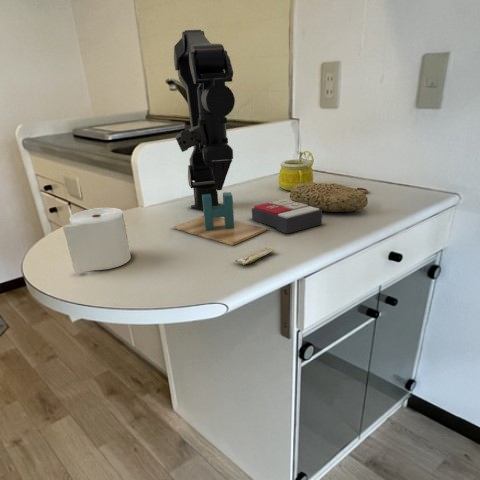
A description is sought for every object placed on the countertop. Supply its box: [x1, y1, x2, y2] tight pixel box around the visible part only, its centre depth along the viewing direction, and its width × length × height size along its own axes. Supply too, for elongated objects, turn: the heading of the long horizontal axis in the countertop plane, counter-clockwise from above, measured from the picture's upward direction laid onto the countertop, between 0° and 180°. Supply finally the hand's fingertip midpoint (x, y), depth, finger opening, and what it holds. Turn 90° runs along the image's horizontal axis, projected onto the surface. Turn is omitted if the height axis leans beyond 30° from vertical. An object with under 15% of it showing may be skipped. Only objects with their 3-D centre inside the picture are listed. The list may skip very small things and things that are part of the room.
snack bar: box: [234, 247, 276, 266], centre depth 91 cm, size 10×2×3 cm
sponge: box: [289, 181, 369, 213], centre depth 117 cm, size 13×8×20 cm
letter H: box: [202, 191, 235, 231], centre depth 106 cm, size 3×7×8 cm, turn 98°
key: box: [356, 187, 369, 194], centre depth 127 cm, size 6×1×15 cm
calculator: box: [251, 198, 323, 234], centre depth 110 cm, size 11×4×15 cm
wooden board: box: [174, 215, 267, 246], centre depth 108 cm, size 20×12×1 cm, turn 48°
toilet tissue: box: [62, 207, 132, 273], centre depth 91 cm, size 11×12×10 cm
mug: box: [278, 150, 314, 192], centre depth 136 cm, size 13×11×12 cm
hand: (217, 185), depth 104 cm, fingers open, 9 cm apart
